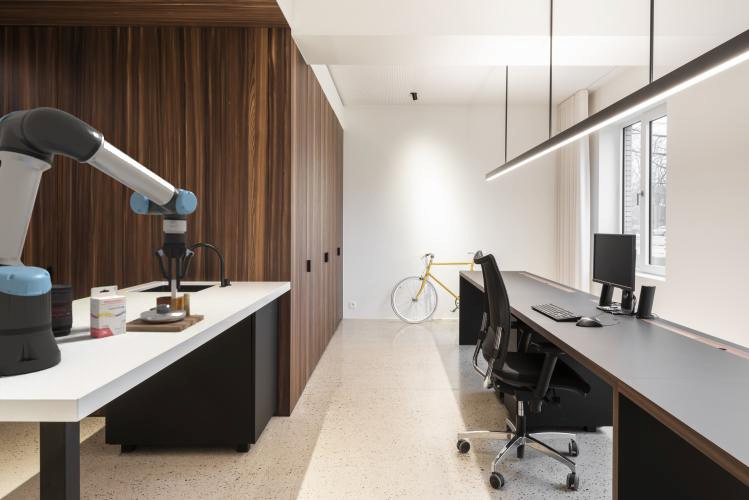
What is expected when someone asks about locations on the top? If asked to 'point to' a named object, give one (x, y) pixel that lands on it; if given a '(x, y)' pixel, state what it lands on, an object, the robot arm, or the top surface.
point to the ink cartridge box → (107, 312)
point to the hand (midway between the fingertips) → (174, 298)
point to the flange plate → (163, 316)
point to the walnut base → (167, 326)
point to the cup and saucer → (163, 301)
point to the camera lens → (61, 309)
